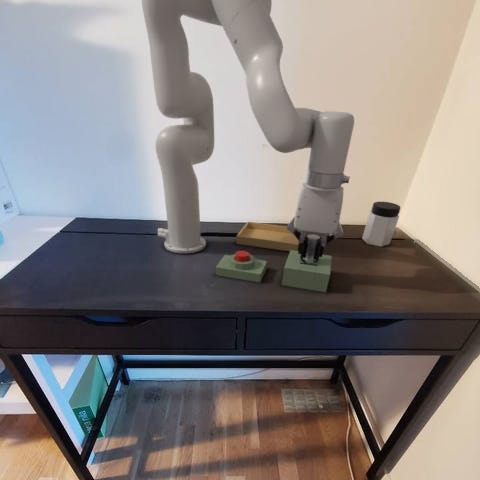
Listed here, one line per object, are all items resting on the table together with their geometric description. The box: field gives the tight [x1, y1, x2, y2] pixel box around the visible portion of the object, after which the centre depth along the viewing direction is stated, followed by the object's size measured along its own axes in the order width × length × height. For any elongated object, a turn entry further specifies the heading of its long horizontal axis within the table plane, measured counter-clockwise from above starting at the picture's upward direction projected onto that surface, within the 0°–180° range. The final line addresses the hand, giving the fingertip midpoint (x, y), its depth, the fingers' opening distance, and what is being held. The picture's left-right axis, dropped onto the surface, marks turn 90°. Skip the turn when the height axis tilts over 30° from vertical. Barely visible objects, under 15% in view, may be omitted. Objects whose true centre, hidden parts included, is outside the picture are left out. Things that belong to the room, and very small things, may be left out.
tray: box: [235, 221, 301, 252], centre depth 102 cm, size 19×14×3 cm
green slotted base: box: [281, 250, 333, 293], centre depth 81 cm, size 11×11×5 cm
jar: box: [361, 201, 401, 248], centre depth 101 cm, size 9×8×12 cm
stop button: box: [234, 250, 250, 262], centre depth 81 cm, size 4×4×2 cm
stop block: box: [215, 253, 268, 283], centre depth 83 cm, size 12×8×4 cm, turn 75°
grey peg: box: [300, 233, 321, 266], centre depth 79 cm, size 4×4×12 cm
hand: (309, 257), depth 78 cm, fingers closed on grey peg, 3 cm apart
